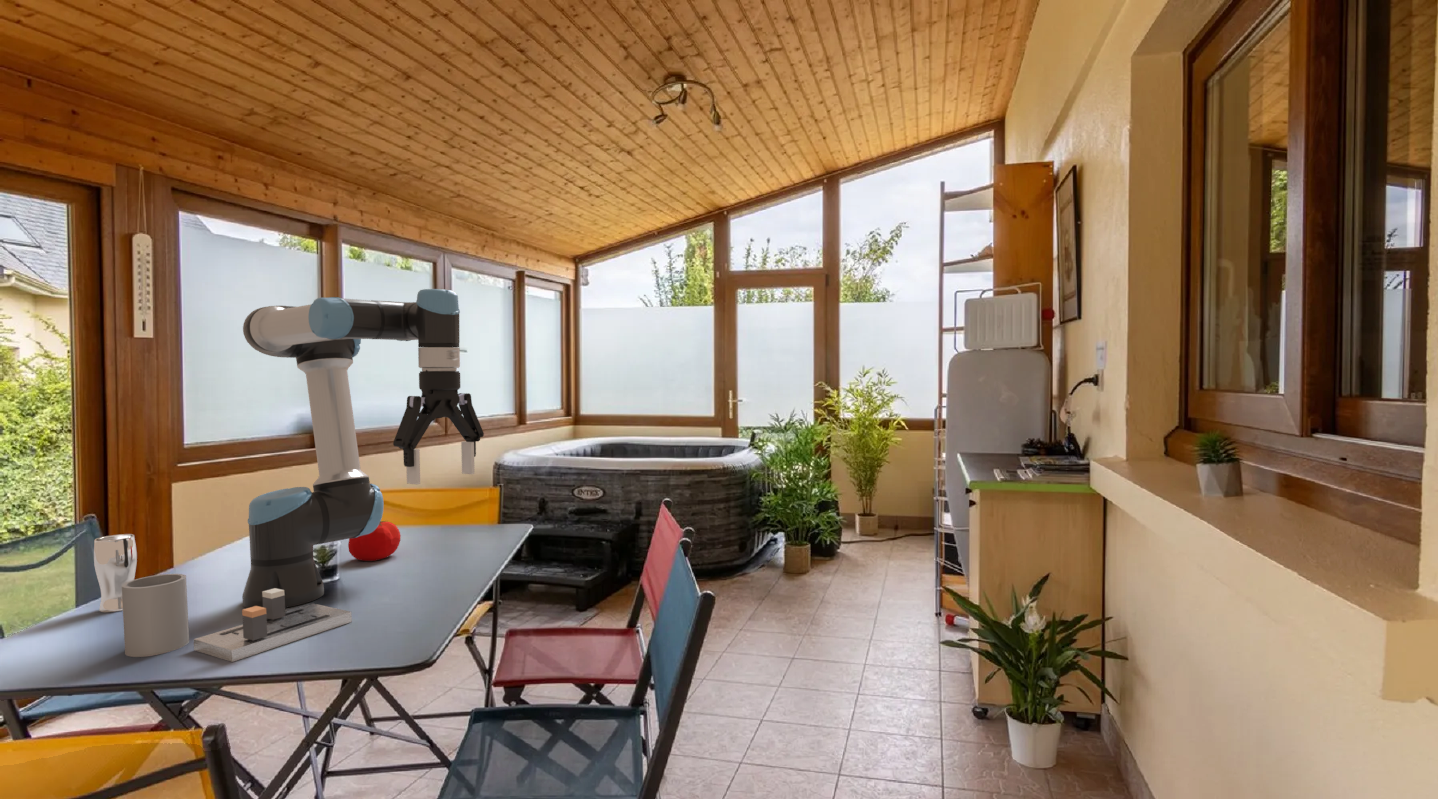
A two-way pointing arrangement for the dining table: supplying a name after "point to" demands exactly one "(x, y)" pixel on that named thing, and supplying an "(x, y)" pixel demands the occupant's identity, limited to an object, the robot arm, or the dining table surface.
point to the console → (273, 632)
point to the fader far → (274, 603)
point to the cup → (155, 614)
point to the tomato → (376, 543)
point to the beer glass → (114, 568)
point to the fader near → (254, 623)
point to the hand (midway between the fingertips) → (442, 478)
